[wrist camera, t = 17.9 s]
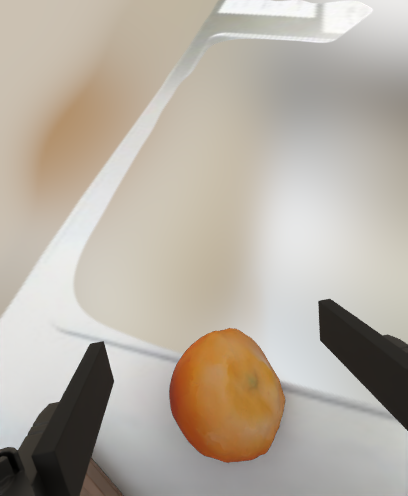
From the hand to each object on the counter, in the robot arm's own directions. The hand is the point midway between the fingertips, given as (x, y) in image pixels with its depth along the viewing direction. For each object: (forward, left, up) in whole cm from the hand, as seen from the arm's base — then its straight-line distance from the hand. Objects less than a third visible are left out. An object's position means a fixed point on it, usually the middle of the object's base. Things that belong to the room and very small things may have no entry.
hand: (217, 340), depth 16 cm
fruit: (-1, -2, -9) cm, 9 cm away
